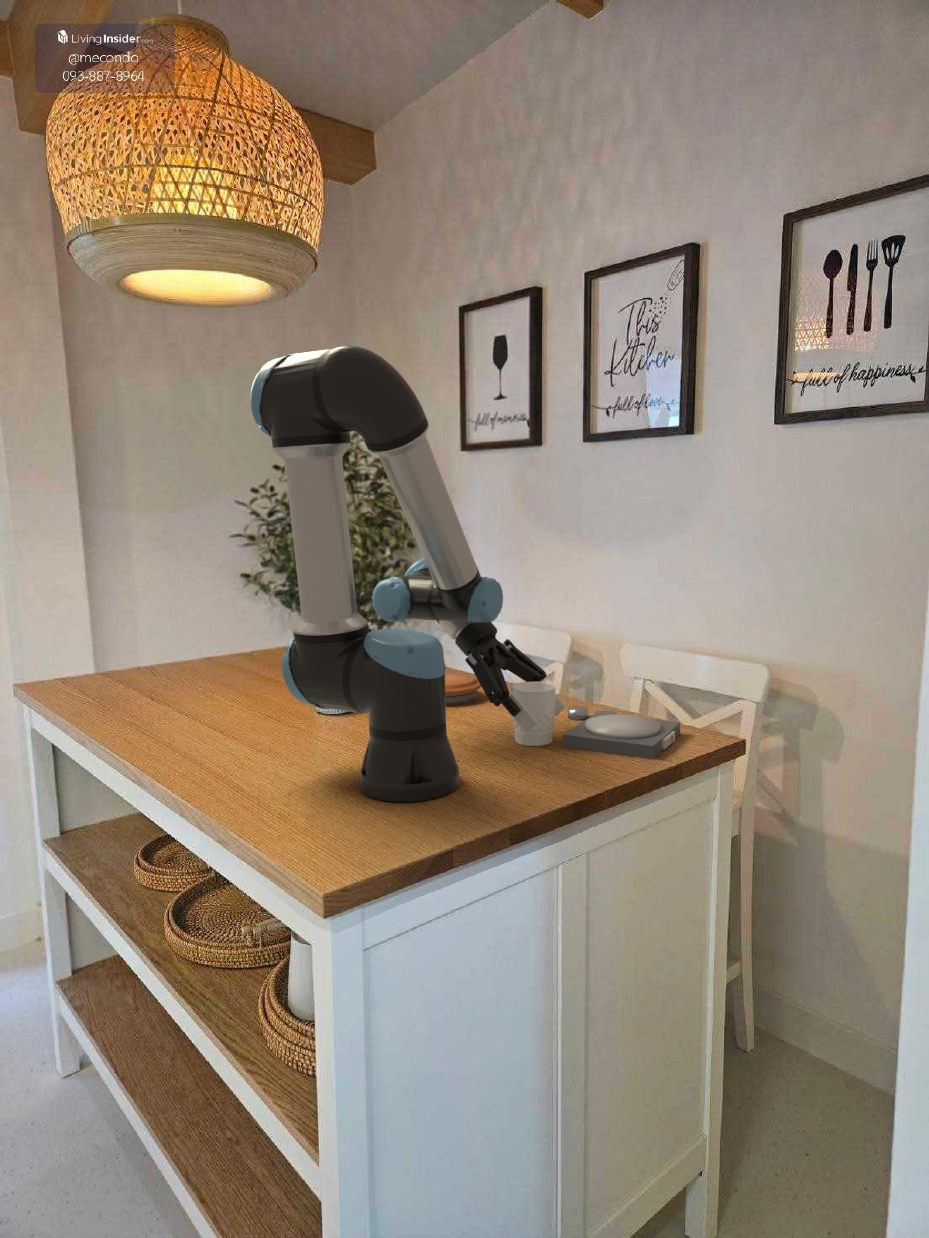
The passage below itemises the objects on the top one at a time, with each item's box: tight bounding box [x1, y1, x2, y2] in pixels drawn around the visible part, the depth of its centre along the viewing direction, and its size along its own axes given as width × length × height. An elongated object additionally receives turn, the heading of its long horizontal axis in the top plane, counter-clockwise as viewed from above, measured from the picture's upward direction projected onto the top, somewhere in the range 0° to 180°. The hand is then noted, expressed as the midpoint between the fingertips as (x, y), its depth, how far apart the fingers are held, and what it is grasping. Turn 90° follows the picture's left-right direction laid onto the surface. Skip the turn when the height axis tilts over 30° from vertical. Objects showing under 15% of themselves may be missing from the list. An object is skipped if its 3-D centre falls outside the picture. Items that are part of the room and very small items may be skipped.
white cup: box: [510, 681, 556, 747], centre depth 144 cm, size 8×8×10 cm
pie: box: [445, 672, 482, 706], centre depth 178 cm, size 15×16×5 cm
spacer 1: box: [567, 705, 589, 722], centre depth 160 cm, size 4×4×2 cm
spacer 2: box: [594, 710, 617, 715], centre depth 156 cm, size 4×4×2 cm
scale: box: [562, 713, 681, 760], centre depth 144 cm, size 16×17×3 cm
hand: (547, 719), depth 143 cm, fingers open, 11 cm apart
